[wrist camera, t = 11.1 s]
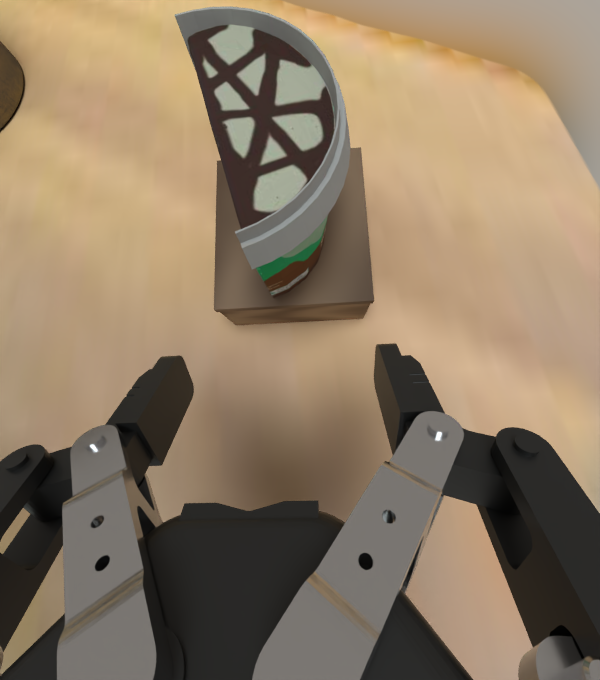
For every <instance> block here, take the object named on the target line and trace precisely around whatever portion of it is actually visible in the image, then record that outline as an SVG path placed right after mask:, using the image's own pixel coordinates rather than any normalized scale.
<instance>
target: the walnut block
mask: <svg viewBox="0 0 600 680" xmlns="http://www.w3.org/2000/svg"><path fill="white" fill-rule="evenodd" d="M240 229H241V228H240V225H239V221H238V218H237V215H236V211H235V208H234V204H233V200H232V197H231V193H230V190H229V186H228V183H227V179H226V176H225V172H224V168H223V165H222V161H217V195H216V242H215V288H214V310H215V311H216V312H221V313H222V314H223V315H224V316H225V317H227V318H228V319H229V320H230V321H232V322H233V323H234V324H235V325H248V324H267V323H286V322H304V321H323V320H342V319H361V318H363V317H364V315H365V313H366V311H367V309H368V307H369V305H370V303H373V302H374V295H373V283H372V271H371V260H370V248H369V236H368V225H367V213H366V201H365V190H364V178H363V166H362V155H361V148H350V159H349V168H348V172H347V175H346V179H345V183H344V186H343V188H342V190H341V192H340V194H339V197H338V199H337V201H336V203H335V205H334V206H333V208H332V209H331V211H330V212H329V214H328V217H327V224H326V231H325V238H324V244H323V247H322V251H321V254H320V257H319V260H318V263H317V264H316V265H315V267H314V268H313V270H312V271H311V272H310V274H309V275H308V277H307V278H306V279H305V280H304V281H302V282H301V283H300V284H298V285H297V286H296V287H294V288H293V289H292V290H291V291H289V292H287V293H285V294H282V295H280V296H277V297H275V298H273V296H272V295H271V293H270V291H269V290H268V288H267V286H266V285H265V283H264V281H263V280H262V278H261V276H260V275H259V273H258V271H257V270H256V268H255V269H252V268H251V266H250V264H249V262H248V260H247V258H246V256H245V254H244V252H243V249H242V247H241V243H240V241H239V239H238V237H237V236H236V234H235V231H238V230H240Z"/></svg>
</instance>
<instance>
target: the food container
mask: <svg viewBox="0 0 600 680" xmlns="http://www.w3.org/2000/svg"><path fill="white" fill-rule="evenodd" d="M175 17H176V20H177V23H178V25H179V28H180V30H181V33H182V36H183V38H184V41H185V44H186V46H187V49H188V51H189V54H190V57H191V59H192V62H193V64H194V67H195V70H196V72H197V76H198V80H199V83H200V87H201V90H202V94H203V97H204V101H205V105H206V109H207V112H208V116H209V120H210V124H211V127H212V131H213V134H214V137H215V141H216V144H217V147H218V151H219V154H220V158H221V161H222V165H223V168H224V172H225V176H226V179H227V183H228V186H229V190H230V193H231V197H232V200H233V204H234V208H235V211H236V215H237V218H238V221H239V225H240V228H241V229H240V230H238V231H235V234H236V236H237V237H238V239H239V241H240V243H241V247H242V249H243V252H244V254H245V256H246V258H247V260H248V262H249V264H250V266H251V268H252V269H255V268H256V270H257V271H258V273H259V275H260V276H261V278H262V280H263V281H264V283H265V285H266V286H267V288H268V290H269V291H270V293H271V295H272V296H273V298H275V297H277V296H280V295H282V294H285V293H287V292H289V291H291V290H292V289H293V288H294V287H296V286H297V285H298V284H300V283H301V282H302V281H304V280H305V279H306V278H307V277H308V275H309V274H310V272H311V271H312V270H313V268H314V267H315V265H316V264H317V263H318V260H319V257H320V254H321V251H322V247H323V244H324V238H325V231H326V224H327V217H328V214H329V212H330V211H331V209H332V208H333V206H334V205H335V203H336V201H337V199H338V197H339V194H340V192H341V190H342V188H343V186H344V183H345V179H346V175H347V172H348V168H349V159H350V139H349V129H348V123H347V117H346V110H345V104H344V100H343V97H342V93H341V90H340V86H339V84H338V82H337V80H336V78H335V76H334V73H333V70H332V68H331V66H330V64H329V62H328V60H327V59H326V57H325V55H324V54H323V52H322V51H321V50H320V49H319V47H318V46H317V45H316V44H315V42H314V41H313V40H312V39H310V38H309V37H308V36H307V35H306V34H305V33H304V32H302V31H301V30H300V29H298V28H297V27H295V26H294V25H292V24H290V23H289V22H287V21H285V20H283V19H281V18H278V17H276V16H273V15H271V14H269V13H265V12H261V11H257V10H253V9H248V8H238V7H209V8H203V9H196V10H191V11H187V12H183V13H180V14H176V15H175Z"/></svg>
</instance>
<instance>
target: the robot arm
mask: <svg viewBox="0 0 600 680" xmlns="http://www.w3.org/2000/svg"><path fill="white" fill-rule="evenodd" d="M374 383H375V389H376V393H377V397H378V401H379V405H380V408H381V412H382V416H383V420H384V424H385V427H386V431H387V435H388V439H389V442H390V446H391V450H392V454H393V457H392V458H391V460H390V461H389V462H386V461H385V462H384V463H383V464H382V465H381V466H380V467H379V469H378V471H377V472H376V474H375V476H374V477H373V479H372V480H371V482H370V484H369V485H368V487H367V488H366V490H365V492H364V493H363V495H362V497H361V498H360V500H359V501H358V503H357V505H356V506H355V508H354V510H353V511H352V513H351V514H350V516H349V518H348V519H347V521H346V523H344V522H343V521H341V520H340V519H338V518H336V517H334V516H332V515H330V514H327V513H324V512H321V511H319V504H318V501H284V502H281V503H277V504H274V505H270V506H267V507H263V508H260V509H256V510H253V511H244V510H241V509H237V508H233V507H230V506H226V505H223V504H219V503H187V504H184V507H183V510H182V513H181V515H180V516H177V517H174V518H172V519H170V520H168V521H166V522H164V523H163V522H162V520H161V517H160V515H159V511H158V508H157V505H156V502H155V498H154V495H153V492H152V488H151V485H150V482H149V479H148V476H147V474H146V471H147V469H148V467H149V466H161V465H162V464H163V462H164V459H165V457H166V455H167V453H168V450H169V448H170V446H171V444H172V442H173V439H174V437H175V435H176V433H177V431H178V428H179V426H180V424H181V422H182V420H183V417H184V415H185V413H186V411H187V408H188V406H189V404H190V402H191V400H192V397H193V393H194V387H193V382H192V380H191V377H190V375H189V372H188V369H187V367H186V364H185V362H184V359H183V358H182V357H181V356H166V357H161V358H160V359H159V360H158V361H157V363H156V364H155V366H154V367H153V369H149V370H148V371H147V372H146V373H144V374H143V375H142V376H141V377H139V378H138V380H137V381H136V383H135V384H134V385H133V387H132V389H131V390H130V391H129V392H128V394H127V397H125V398H124V399H123V401H122V402H121V404H120V405H119V406H118V408H117V409H116V411H115V412H114V413H113V415H112V416H111V418H110V419H109V420H108V422H107V423H106V424H105V425H102V426H98V427H96V428H93V429H91V430H89V431H87V432H86V433H84V434H83V435H82V436H81V437H79V438H78V439H77V440H76V442H75V443H74V444H73V446H72V447H70V448H66V449H63V450H59V451H56V452H53V453H48V452H47V451H46V449H45V448H44V447H43V446H41V445H29V446H26V447H23V448H20V449H18V450H16V451H15V452H13V453H11V454H10V455H8V456H7V457H5V458H4V459H3V460H2V461H1V462H0V541H1V538H2V536H3V535H4V533H5V532H6V530H7V529H8V528H9V526H10V525H11V523H12V522H13V521H14V519H15V518H16V517H17V515H18V514H19V512H20V511H21V510H22V508H24V509H26V510H27V511H28V512H29V513H30V516H29V517H28V519H27V520H26V522H25V523H24V525H23V526H22V527H21V529H20V530H19V532H18V533H17V535H16V536H15V538H14V539H13V540H12V542H11V543H10V545H9V546H8V548H7V549H6V551H5V552H4V554H3V555H2V554H1V553H0V669H1V666H2V661H3V652H4V650H5V648H6V646H7V644H8V643H9V641H10V639H11V637H12V635H13V634H14V632H15V630H16V628H17V626H18V625H19V623H20V621H21V619H22V617H23V616H24V614H25V612H26V610H27V608H28V607H29V605H30V603H31V601H32V599H33V598H34V596H35V594H36V592H37V591H38V589H39V587H40V585H41V583H42V582H43V580H44V578H45V576H46V574H47V573H48V571H49V569H50V567H51V565H52V564H53V562H54V560H55V558H56V556H57V555H58V553H59V551H60V549H61V547H62V546H63V559H64V598H65V614H64V615H63V616H62V617H61V618H60V619H59V620H58V621H57V622H56V623H55V624H54V625H52V626H51V627H50V628H49V629H48V630H47V631H46V632H45V633H44V634H43V635H42V636H41V637H40V638H39V639H38V640H37V641H36V642H35V643H34V644H33V645H32V646H31V647H30V648H29V649H28V650H27V651H26V652H25V653H24V654H22V655H21V656H20V657H19V658H18V659H17V660H16V661H15V662H14V663H13V664H12V665H11V666H10V667H9V668H8V669H7V670H6V671H5V672H4V673H3V674H1V673H0V680H473V679H472V678H471V676H470V675H469V674H468V673H467V671H466V670H465V669H464V667H463V666H462V665H461V664H460V662H459V661H458V660H457V659H456V657H455V656H454V655H453V654H452V652H451V651H450V650H449V649H448V647H447V646H446V645H445V644H444V642H443V641H442V640H441V639H440V637H439V636H438V635H437V634H436V632H435V631H434V630H433V628H432V627H431V626H430V625H429V623H428V622H427V621H426V620H425V618H424V617H423V616H422V615H421V613H420V612H419V611H418V610H417V608H416V607H415V606H414V605H413V603H412V602H411V601H410V600H409V598H408V597H407V596H406V594H405V593H406V591H407V588H408V586H409V583H410V581H411V579H412V576H413V574H414V571H415V569H416V566H417V563H418V561H419V558H420V556H421V553H422V550H423V547H424V545H425V542H426V540H427V537H428V535H429V532H430V530H431V527H432V525H433V522H434V520H435V517H436V515H437V512H438V510H439V507H440V505H441V502H442V500H443V497H444V495H446V496H449V497H453V498H456V499H460V500H463V501H467V502H470V503H474V504H477V507H478V509H479V512H480V514H481V517H482V519H483V522H484V524H485V527H486V530H487V532H488V535H489V537H490V540H491V542H492V545H493V547H494V550H495V552H496V555H497V557H498V560H499V562H500V565H501V568H502V570H503V573H504V575H505V578H506V580H507V583H508V585H509V588H510V590H511V593H512V595H513V598H514V600H515V603H516V606H517V608H518V611H519V613H520V616H521V618H522V621H523V623H524V626H525V628H526V631H527V633H528V636H529V638H530V641H531V644H532V646H533V648H532V649H531V650H529V651H528V652H527V653H525V655H524V656H523V657H522V659H521V661H520V664H519V670H518V677H519V680H600V513H599V512H598V511H597V509H596V508H595V506H594V505H593V504H592V502H591V501H590V499H589V498H588V497H587V495H586V494H585V492H584V491H583V490H582V488H581V487H580V485H579V484H578V483H577V481H576V480H575V478H574V477H573V476H572V474H571V473H570V471H569V470H568V468H567V467H566V466H565V464H564V463H563V461H562V460H561V459H560V457H559V456H558V454H557V453H556V452H555V450H554V449H553V448H552V446H551V445H550V444H549V443H548V442H547V441H546V440H544V439H543V438H542V437H540V436H539V435H537V434H535V433H533V432H531V431H528V430H525V429H521V428H514V427H512V428H505V429H502V430H501V431H499V432H498V434H497V436H496V437H494V436H489V435H485V434H480V433H475V432H471V431H468V430H465V429H463V428H462V427H461V425H460V424H459V423H458V422H457V421H456V420H455V419H454V418H452V417H451V416H449V415H447V414H445V413H444V411H443V409H442V407H441V405H440V403H439V400H438V398H437V396H436V394H435V392H434V390H433V388H432V386H431V384H430V383H429V380H428V378H427V376H426V375H425V372H424V370H423V368H422V366H421V364H420V363H419V362H418V361H417V360H416V359H414V358H413V357H412V356H411V355H407V356H401V353H400V351H399V349H398V346H397V344H378V345H376V350H375V367H374Z"/></svg>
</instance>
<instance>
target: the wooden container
mask: <svg viewBox="0 0 600 680" xmlns="http://www.w3.org/2000/svg"><path fill="white" fill-rule="evenodd" d="M22 92H23V73H22V70H21V67H20V65H19V63H18V61H17V60H16V59H15V57H14V56H13V55H12V54H11V53H10V52H9V50H8V49H7V48H6V47H5V46H4V45H3V44H2V43H1V42H0V129H1V128H2V127H3V126H4V125H5V124H6V123H7V122H8V120H9V119H10V118H11V116H12V115H13V113H14V112H15V110H16V108H17V106H18V104H19V102H20V99H21V96H22Z"/></svg>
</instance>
